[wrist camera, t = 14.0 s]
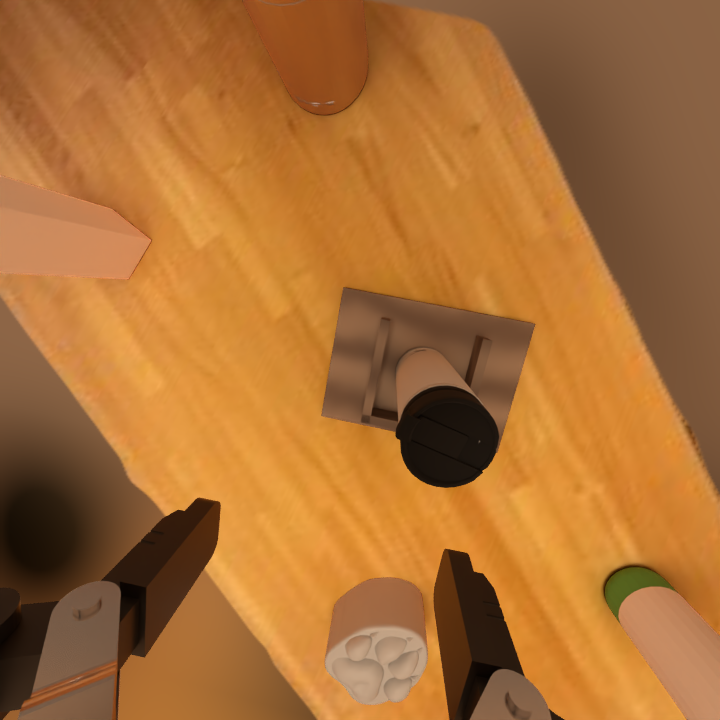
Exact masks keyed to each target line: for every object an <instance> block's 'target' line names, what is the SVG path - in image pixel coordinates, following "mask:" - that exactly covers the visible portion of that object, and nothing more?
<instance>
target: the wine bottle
mask: <svg viewBox="0 0 720 720" xmlns="http://www.w3.org/2000/svg"><path fill="white" fill-rule="evenodd" d="M605 598H606V602H607V604H608V606H609V608H610V609H611V611H612V613H613V614H614V615H615V617H616V618H617V620H618V621H619V623H620V624H621V626H622V627H623V629H624V630H625V632H626V633H627V634H628V636H629V637H630V639H631V640H632V642H633V643H634V645H635V646H636V647H637V649H638V650H639V652H640V653H641V655H642V656H643V657H644V659H645V660H646V662H647V663H648V665H649V666H650V667H651V669H652V670H653V672H654V673H655V675H656V676H657V677H658V679H659V680H660V682H661V683H662V685H663V686H664V687H665V689H666V690H667V692H668V693H669V695H670V696H671V697H672V699H673V700H674V702H675V703H676V705H677V706H678V708H679V709H680V710H681V712H682V713H683V715H684V716H685V718H686V719H687V720H720V636H719V635H718V634H717V633H716V632H715V631H714V630H713V628H712V627H711V626H710V625H709V624H708V623H707V622H706V621H705V620H704V619H703V618H702V617H701V616H700V615H699V614H698V613H697V612H696V611H695V610H694V609H693V608H692V607H691V606H690V604H689V603H688V602H687V601H686V600H685V599H684V598H683V597H682V596H681V595H680V594H679V593H678V592H677V591H676V590H675V589H674V588H673V587H672V586H671V585H670V584H669V583H668V582H667V581H666V580H665V579H664V578H662V577H661V576H660V575H659V574H657V573H655V572H653V571H651V570H649V569H645V568H641V567H630V568H626V569H623V570H620V571H618V572H616V573H615V574H614V575H612V576H611V578H610V579H609V580H608V582H607V584H606V587H605Z"/></svg>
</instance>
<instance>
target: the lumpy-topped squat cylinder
mask: <svg viewBox="0 0 720 720" xmlns="http://www.w3.org/2000/svg"><path fill="white" fill-rule="evenodd" d="M427 659H428V650H427V638H426V629H425V619H424V609H423V600H422V595H421V592H420V591H419V589H418V588H417V587H416V586H415V585H414V584H412V583H410V582H408V581H405V580H402V579H398V578H375V579H369V580H367V581H365V582H363V583H361V584H359V585H357V586H356V587H354V588H353V589H351V590H350V591H348V592H347V593H346V594H345V595H343V596H342V597H341V598H340V599H339V600H338V601H337V602H336V604H335V606H334V610H333V616H332V621H331V627H330V633H329V638H328V644H327V650H326V656H325V668H326V670H327V672H328V673H329V674H330V675H331V676H332V677H333V678H334V679H336V680H337V681H339V682H340V683H341V684H342V685H343V686H344V687H345V688H346V690H347V691H348V693H349V694H350V695H351V697H352V698H353V699H354V700H356V701H357V702H359V703H362V704H367V705H377V704H381V703H384V702H386V701H388V700H390V701H392V702H400V701H402V700H404V699H405V698H406V697H407V696H408V694H409V692H410V689H411V687H413V686H414V685H415V684H416V683H417V682H418V681H419V679H420V677H421V676H422V674H423V672H424V669H425V667H426V664H427Z"/></svg>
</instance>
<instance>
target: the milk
mask: <svg viewBox="0 0 720 720" xmlns="http://www.w3.org/2000/svg"><path fill="white" fill-rule="evenodd" d="M150 242H151V239H149V238H148V237H147V236H146V235H144V234H143V233H142V232H141V231H139V230H138V229H137V228H136V227H134V226H133V225H132V224H131V223H129V222H128V221H127V220H125V219H124V218H123V217H122V216H120V215H119V214H118V213H117V212H115V211H114V210H113V209H111V208H108V207H105V206H101V205H98V204H95V203H91V202H88V201H85V200H81V199H78V198H75V197H71V196H68V195H65V194H61V193H58V192H55V191H51V190H48V189H45V188H41V187H38V186H35V185H32V184H28V183H25V182H22V181H18V180H15V179H12V178H8V177H5V176H2V175H0V273H7V274H27V275H47V276H67V277H87V278H107V279H129V278H130V276H131V275H132V273H133V271H134V269H135V268H136V266H137V264H138V263H139V261H140V259H141V258H142V256H143V254H144V253H145V251H146V249H147V248H148V246H149V244H150Z"/></svg>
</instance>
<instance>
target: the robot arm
mask: <svg viewBox="0 0 720 720" xmlns="http://www.w3.org/2000/svg"><path fill="white" fill-rule="evenodd" d="M242 2H243V4H244V6H245V8H246V10H247V12H248V14H249V16H250V18H251V20H252V22H253V24H254V26H255V28H256V29H257V31H258V33H259V35H260V37H261V39H262V41H263V43H264V45H265V47H266V49H267V51H268V53H269V55H270V57H271V59H272V61H273V63H274V65H275V67H276V69H277V71H278V73H279V75H280V77H281V79H282V81H283V83H284V85H285V87H286V89H287V91H288V93H289V94H290V96H291V97H292V98H293V100H294V101H295V102H296V103H297V104H298V105H299V106H300V107H301V108H303V109H305V110H307V111H308V112H311V113H315V114H320V115H328V114H333V113H337V112H339V111H341V110H343V109H345V108H346V107H348V106H349V105H350V104H351V103H352V102H353V101H354V100H355V99H356V98H357V97H358V95H359V94H360V92H361V90H362V88H363V86H364V83H365V81H366V78H367V72H368V49H367V39H366V26H365V16H364V5H363V0H242ZM220 507H221V505H220V502H218V501H213V500H208V499H204V498H197V499H196V500H195V501H194V502H193V503H192V504H191V505H190V506H189V507H188V508H187V509H186V510H185V511H182V510H177V511H175V512H173V513H171V514H170V515H168V516H166V517H164V518H163V519H162V520H161V521H160V522H159V523H158V524H157V525H156V526H155V527H154V528H153V529H152V530H151V532H150V533H148V534H147V535H146V536H145V537H144V538H143V539H142V540H141V542H139V543H138V544H137V545H136V546H135V547H134V548H133V549H132V550H131V551H130V552H129V553H128V554H127V555H126V556H125V557H124V558H123V559H122V560H121V561H120V562H119V563H118V564H117V565H116V566H115V567H114V568H113V569H112V570H111V571H110V572H109V573H108V574H107V575H106V576H105V577H104V578H103V579H102V580H101V581H97V582H92V583H88V584H85V585H83V586H81V587H78V588H77V589H75V590H73V591H72V592H70V593H68V594H67V595H66V596H65V597H64V598H62V599H61V600H60V601H55V602H46V603H34V604H24V605H21V602H20V595H19V593H18V592H17V591H16V590H14V589H11V588H0V720H3V718H4V717H5V716H6V715H7V714H8V713H9V711H12V710H18V709H21V710H20V713H19V717H18V720H118V707H119V689H120V688H119V687H120V669H121V667H122V666H123V665H124V663H125V662H126V660H127V659H128V657H129V656H130V655H131V654H132V655H136V656H140V657H145V656H146V654H147V653H148V652H149V650H150V649H151V647H152V646H153V644H154V643H155V641H156V640H157V638H158V637H159V635H160V633H161V632H162V631H163V629H164V628H165V626H166V625H167V623H168V622H169V620H170V619H171V617H172V616H173V614H174V613H175V611H176V610H177V608H178V607H179V605H180V604H181V602H182V601H183V599H184V598H185V596H186V595H187V593H188V592H189V590H190V589H191V587H192V586H193V584H194V583H195V581H196V580H197V578H198V577H199V575H200V573H201V572H202V571H203V569H204V568H205V566H206V565H207V563H208V562H209V560H210V559H211V557H212V555H213V553H214V551H215V548H216V545H217V541H218V533H219V520H220ZM499 605H500V604H499V601H498V599H497V596H496V593H495V590H494V588H493V586H492V585H491V584H490V582H489V581H488V580H487V578H486V577H485V576H484V574H482V573H477V572H474V571H473V568H472V564H471V561H470V557H469V555H468V554H467V553H464V552H459V551H455V550H450V549H445V550H444V552H443V555H442V559H441V563H440V567H439V571H438V575H437V579H436V582H435V587H434V611H435V618H436V625H437V632H438V640H439V647H440V654H441V661H442V668H443V676H444V683H445V690H446V697H447V705H448V712H449V719H450V720H564V719H563V718H561V717H559V716H558V715H556V714H555V713H554V712H552V711H551V710H550V709H549V708H548V706H547V704H546V702H545V700H544V698H543V696H542V695H541V693H540V692H539V691H538V689H537V688H536V687H535V686H534V685H533V684H532V683H531V682H530V681H529V680H528V679H526V678H525V676H524V673H523V670H522V668H521V665H520V662H519V659H518V656H517V653H516V650H515V647H514V645H513V642H512V639H511V636H510V633H509V630H508V627H507V624H506V622H505V621H504V616H503V613H502V610H501V608H500V606H499Z"/></svg>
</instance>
